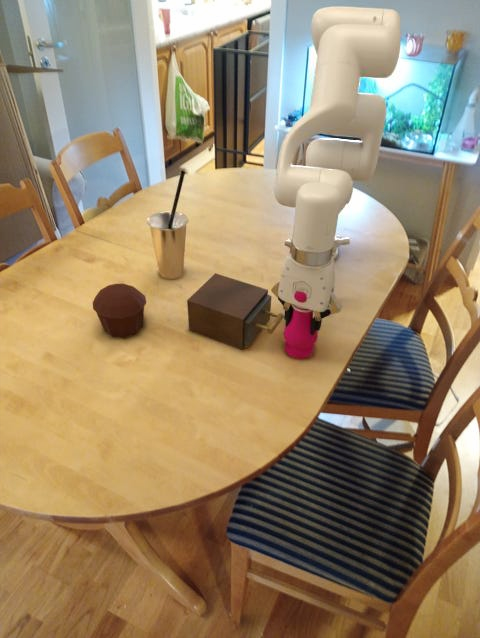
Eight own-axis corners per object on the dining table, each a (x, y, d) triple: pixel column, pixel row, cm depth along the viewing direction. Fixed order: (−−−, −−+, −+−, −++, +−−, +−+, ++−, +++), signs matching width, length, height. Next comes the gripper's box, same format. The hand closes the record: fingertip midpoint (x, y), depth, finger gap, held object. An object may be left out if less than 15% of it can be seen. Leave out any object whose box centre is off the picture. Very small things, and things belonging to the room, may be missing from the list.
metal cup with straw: (189, 287, 120) (184, 172, 101) (146, 282, 121) (133, 168, 102) (198, 264, 128) (195, 155, 110) (158, 260, 129) (148, 151, 111)
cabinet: (266, 319, 110) (268, 289, 105) (242, 350, 102) (243, 319, 96) (215, 302, 115) (215, 273, 110) (188, 330, 107) (186, 300, 101)
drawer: (287, 325, 107) (289, 301, 103) (266, 354, 100) (268, 329, 96) (222, 303, 113) (222, 280, 109) (198, 329, 106) (197, 305, 101)
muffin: (158, 318, 110) (154, 283, 104) (131, 347, 102) (125, 311, 96) (116, 305, 114) (110, 270, 107) (87, 332, 106) (78, 296, 99)
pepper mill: (279, 338, 105) (285, 263, 92) (311, 337, 105) (322, 261, 93) (285, 361, 99) (292, 284, 87) (318, 359, 100) (330, 282, 87)
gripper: (261, 248, 87) (257, 324, 99) (350, 273, 81) (334, 351, 93) (277, 231, 92) (272, 305, 104) (362, 253, 86) (346, 329, 98)
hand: (301, 326), depth 98 cm, fingers closed on pepper mill, 4 cm apart
